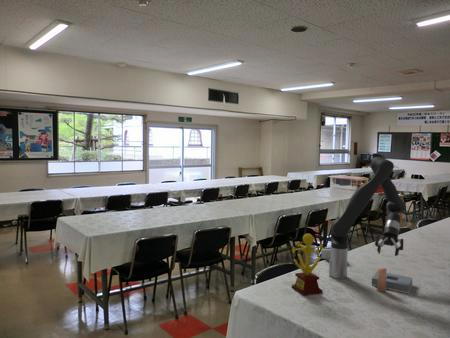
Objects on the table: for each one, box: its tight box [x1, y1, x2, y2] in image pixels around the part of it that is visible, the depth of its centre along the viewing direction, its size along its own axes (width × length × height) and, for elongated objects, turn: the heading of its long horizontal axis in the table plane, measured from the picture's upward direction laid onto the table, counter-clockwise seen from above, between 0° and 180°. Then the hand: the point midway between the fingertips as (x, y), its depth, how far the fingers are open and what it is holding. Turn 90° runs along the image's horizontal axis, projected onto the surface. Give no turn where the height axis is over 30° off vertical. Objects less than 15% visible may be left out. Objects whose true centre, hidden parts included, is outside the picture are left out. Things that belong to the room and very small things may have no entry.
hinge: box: [321, 246, 348, 263], centre depth 235 cm, size 17×5×10 cm, turn 47°
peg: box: [376, 266, 388, 293], centre depth 184 cm, size 4×4×12 cm
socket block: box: [371, 270, 413, 294], centre depth 193 cm, size 18×14×4 cm
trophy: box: [291, 233, 324, 297], centre depth 183 cm, size 14×16×30 cm
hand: (387, 254), depth 193 cm, fingers open, 8 cm apart
